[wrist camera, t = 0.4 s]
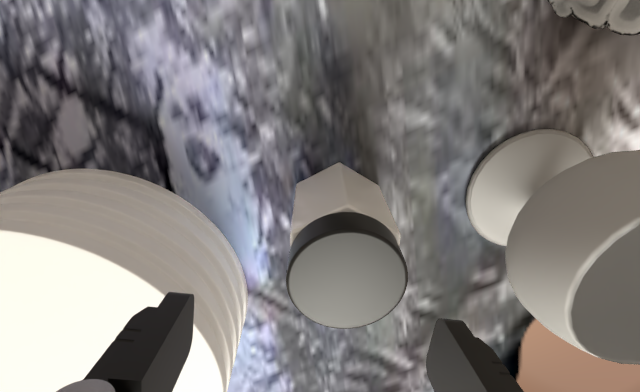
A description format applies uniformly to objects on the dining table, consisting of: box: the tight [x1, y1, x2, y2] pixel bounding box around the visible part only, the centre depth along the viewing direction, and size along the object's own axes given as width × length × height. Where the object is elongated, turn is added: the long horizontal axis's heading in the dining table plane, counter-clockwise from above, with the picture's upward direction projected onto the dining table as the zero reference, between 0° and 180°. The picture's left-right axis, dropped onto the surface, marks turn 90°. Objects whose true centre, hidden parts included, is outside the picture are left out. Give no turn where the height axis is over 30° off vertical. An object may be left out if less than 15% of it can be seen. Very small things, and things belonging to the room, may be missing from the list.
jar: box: [286, 162, 408, 329], centre depth 29 cm, size 9×8×12 cm
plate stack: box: [0, 169, 248, 392], centre depth 33 cm, size 28×28×12 cm
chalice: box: [466, 129, 640, 365], centre depth 27 cm, size 14×14×15 cm
